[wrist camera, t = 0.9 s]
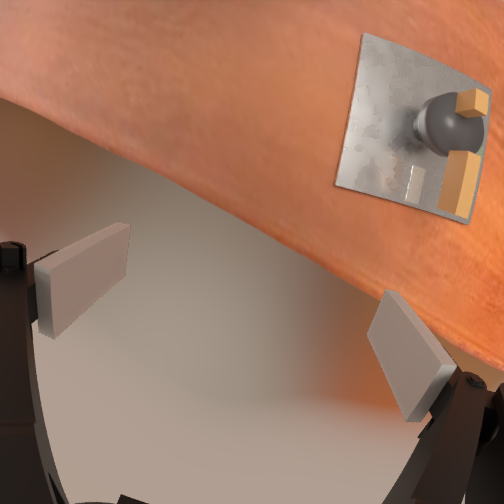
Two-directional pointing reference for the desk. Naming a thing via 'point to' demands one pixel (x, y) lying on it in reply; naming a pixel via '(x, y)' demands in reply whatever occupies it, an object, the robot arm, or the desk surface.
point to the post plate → (398, 126)
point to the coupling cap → (456, 143)
